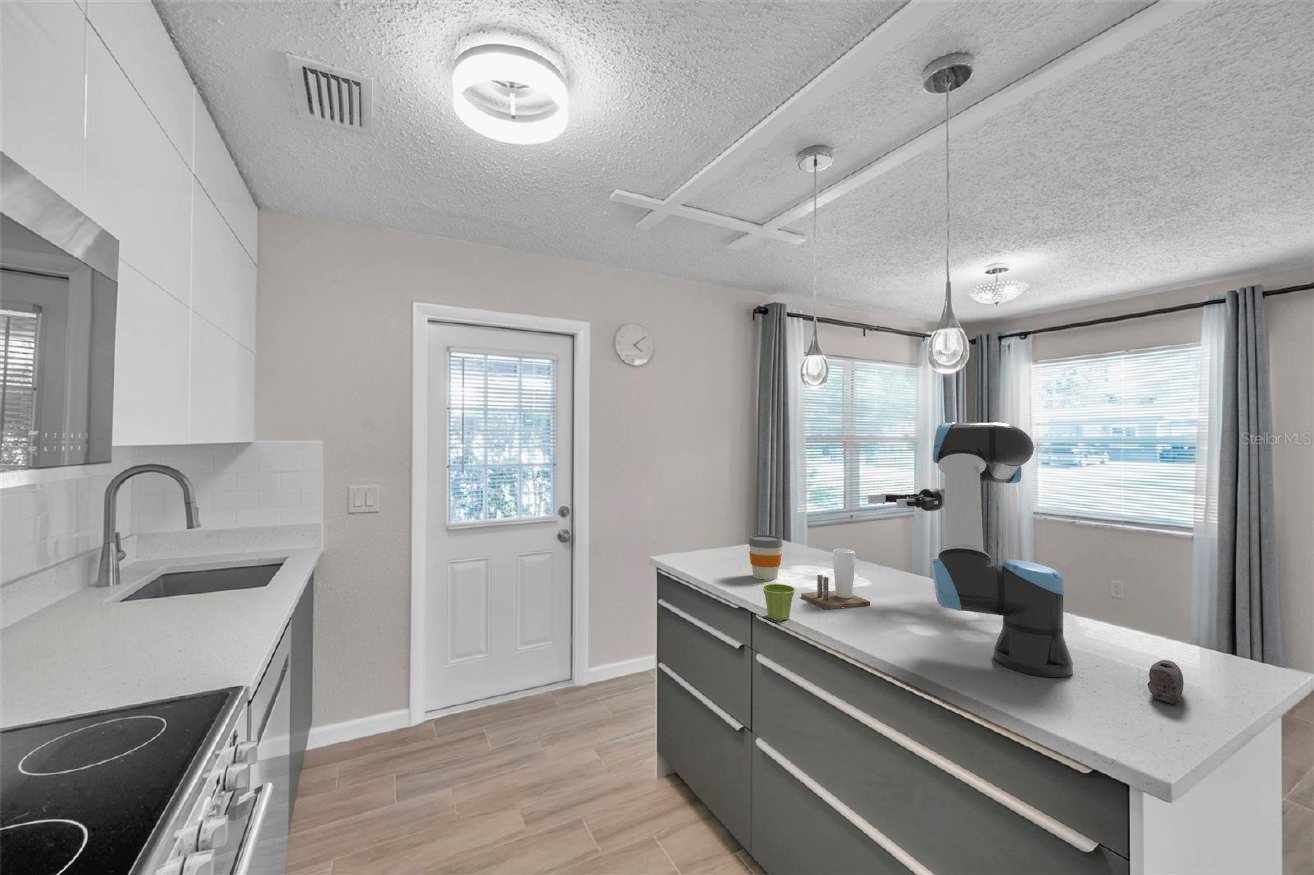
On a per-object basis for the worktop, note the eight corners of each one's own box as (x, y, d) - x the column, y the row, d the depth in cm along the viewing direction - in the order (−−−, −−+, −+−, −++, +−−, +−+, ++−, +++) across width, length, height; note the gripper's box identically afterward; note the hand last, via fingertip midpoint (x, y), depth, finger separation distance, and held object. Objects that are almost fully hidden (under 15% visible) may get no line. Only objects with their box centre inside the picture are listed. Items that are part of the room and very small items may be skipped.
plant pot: (793, 624, 154) (794, 593, 154) (760, 620, 157) (760, 590, 157) (796, 614, 163) (796, 585, 163) (764, 611, 166) (764, 582, 166)
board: (842, 593, 186) (842, 569, 186) (870, 605, 172) (870, 579, 173) (801, 596, 181) (801, 572, 181) (826, 609, 168) (826, 582, 168)
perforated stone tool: (1154, 680, 120) (1154, 648, 120) (1187, 688, 116) (1188, 655, 116) (1144, 702, 110) (1144, 667, 110) (1180, 712, 106) (1180, 676, 106)
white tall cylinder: (829, 596, 177) (829, 550, 177) (838, 592, 182) (838, 547, 182) (849, 601, 173) (849, 553, 173) (858, 596, 178) (858, 550, 178)
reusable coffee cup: (744, 573, 212) (744, 535, 212) (776, 573, 214) (776, 534, 214) (753, 582, 200) (754, 540, 200) (787, 581, 201) (787, 540, 201)
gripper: (964, 515, 175) (910, 517, 168) (907, 506, 198) (858, 508, 192) (965, 492, 175) (910, 493, 168) (907, 485, 198) (858, 486, 192)
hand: (882, 501), depth 180 cm, fingers open, 13 cm apart
